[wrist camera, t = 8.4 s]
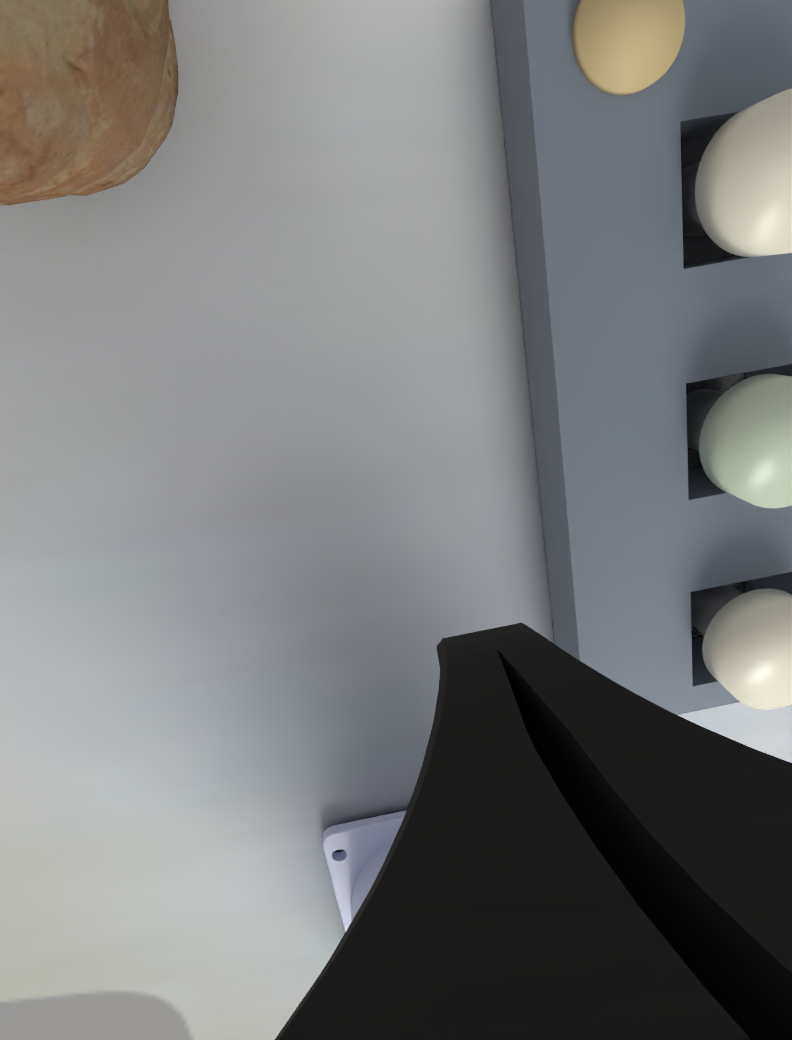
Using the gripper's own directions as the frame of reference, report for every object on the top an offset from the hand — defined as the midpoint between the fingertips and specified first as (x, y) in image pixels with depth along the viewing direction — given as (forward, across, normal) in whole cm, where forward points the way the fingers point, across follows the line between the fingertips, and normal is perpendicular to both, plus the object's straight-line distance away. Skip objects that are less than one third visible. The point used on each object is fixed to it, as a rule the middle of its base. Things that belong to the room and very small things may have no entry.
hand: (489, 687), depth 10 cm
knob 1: (+10, -9, -7) cm, 15 cm away
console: (+10, -9, -2) cm, 14 cm away
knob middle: (+10, -9, -1) cm, 14 cm away
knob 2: (+10, -9, +5) cm, 15 cm away
